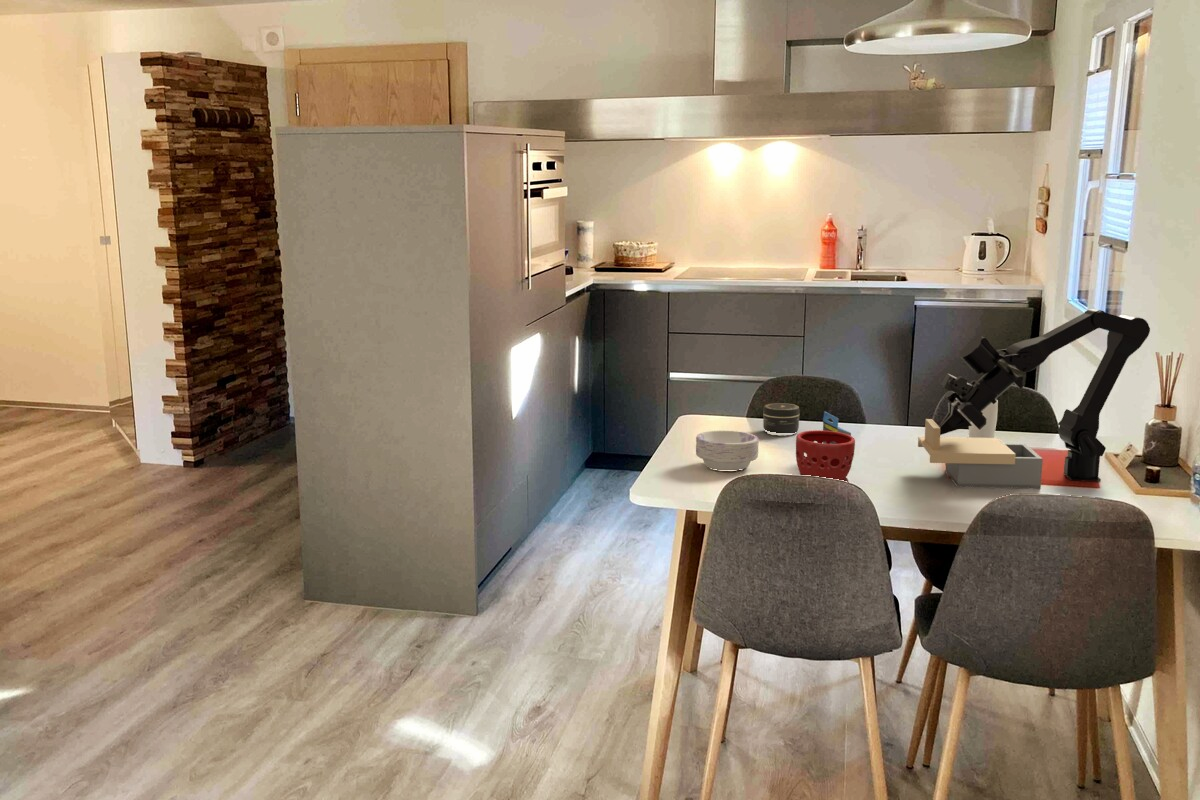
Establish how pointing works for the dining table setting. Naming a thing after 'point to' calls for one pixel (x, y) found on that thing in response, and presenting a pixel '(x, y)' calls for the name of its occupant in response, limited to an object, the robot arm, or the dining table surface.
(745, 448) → the paper bowls
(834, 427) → the label tape box
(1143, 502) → the dining table surface
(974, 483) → the box
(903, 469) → the dining table surface
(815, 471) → the plant pot
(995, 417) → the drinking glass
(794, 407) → the jar
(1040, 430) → the dining table surface
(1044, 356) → the robot arm
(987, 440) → the lid
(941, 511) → the dining table surface
